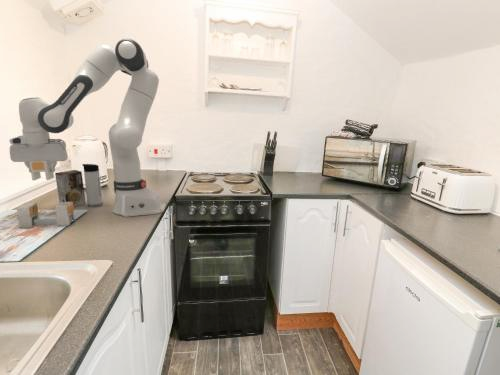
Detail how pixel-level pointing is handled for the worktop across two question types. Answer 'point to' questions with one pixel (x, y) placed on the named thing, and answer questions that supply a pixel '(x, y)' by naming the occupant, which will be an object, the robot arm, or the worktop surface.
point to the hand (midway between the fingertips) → (42, 172)
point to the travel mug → (92, 185)
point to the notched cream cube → (41, 169)
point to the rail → (31, 217)
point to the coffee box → (70, 187)
